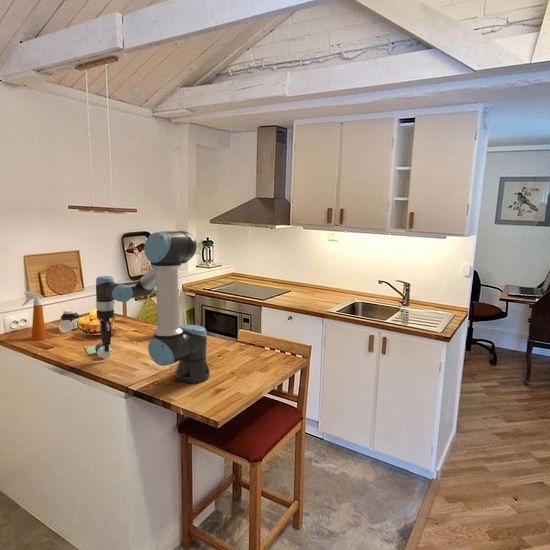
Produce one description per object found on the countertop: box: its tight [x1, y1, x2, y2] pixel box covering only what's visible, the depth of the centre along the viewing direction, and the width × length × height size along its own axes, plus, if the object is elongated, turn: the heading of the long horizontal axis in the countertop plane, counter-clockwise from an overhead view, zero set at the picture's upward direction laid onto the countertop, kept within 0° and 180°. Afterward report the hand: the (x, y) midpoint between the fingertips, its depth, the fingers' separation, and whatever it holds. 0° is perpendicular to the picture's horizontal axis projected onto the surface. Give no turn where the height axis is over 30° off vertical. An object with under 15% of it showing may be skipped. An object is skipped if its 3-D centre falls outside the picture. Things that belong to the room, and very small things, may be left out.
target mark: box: [84, 344, 114, 355], centre depth 211 cm, size 12×12×1 cm
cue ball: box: [96, 347, 104, 359], centre depth 200 cm, size 6×6×6 cm
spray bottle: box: [21, 291, 47, 341], centre depth 220 cm, size 7×11×26 cm, turn 123°
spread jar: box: [58, 308, 81, 334], centre depth 238 cm, size 12×11×12 cm
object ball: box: [95, 342, 103, 352], centre depth 205 cm, size 6×6×6 cm
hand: (106, 357), depth 195 cm, fingers closed
